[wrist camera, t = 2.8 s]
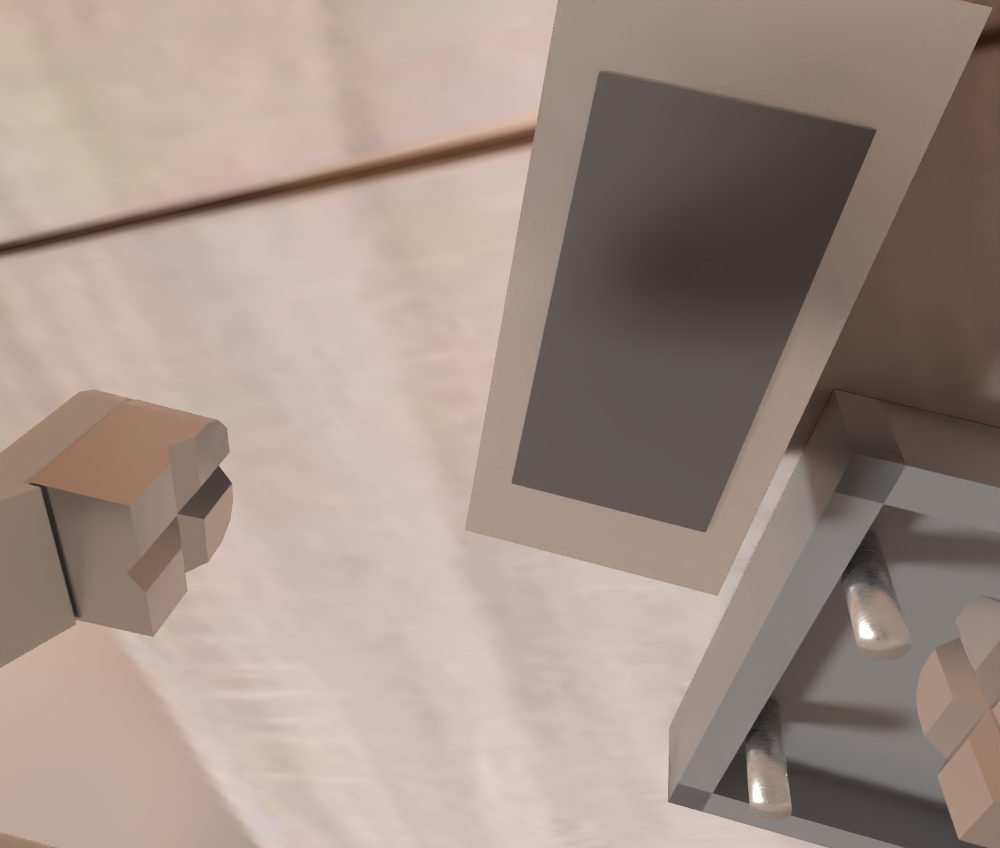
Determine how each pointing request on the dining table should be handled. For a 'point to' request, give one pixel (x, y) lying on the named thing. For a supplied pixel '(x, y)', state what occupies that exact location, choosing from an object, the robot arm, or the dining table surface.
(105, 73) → the dining table surface
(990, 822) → the robot arm
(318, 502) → the dining table surface
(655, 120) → the block
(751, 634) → the pin tray
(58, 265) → the dining table surface
